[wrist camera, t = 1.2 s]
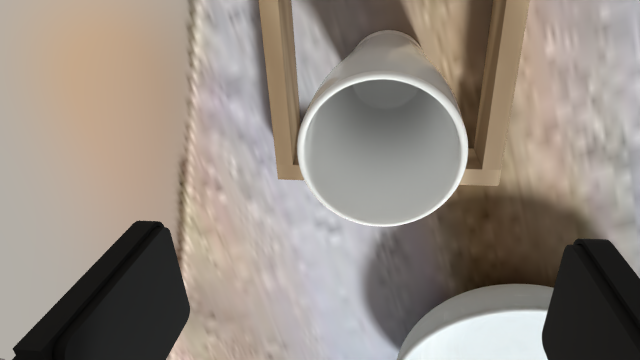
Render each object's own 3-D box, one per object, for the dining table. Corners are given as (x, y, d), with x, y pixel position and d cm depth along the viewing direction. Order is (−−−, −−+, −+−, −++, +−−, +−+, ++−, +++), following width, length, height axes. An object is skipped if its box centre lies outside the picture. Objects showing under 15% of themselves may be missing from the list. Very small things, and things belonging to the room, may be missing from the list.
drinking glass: (454, 82, 29) (503, 185, 16) (371, 130, 32) (353, 252, 18) (405, -6, 27) (413, 29, 14) (320, 54, 29) (260, 130, 16)
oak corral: (518, -34, 25) (535, -33, 22) (488, 163, 31) (498, 185, 28) (271, -22, 28) (256, -19, 25) (288, 159, 34) (278, 179, 31)
